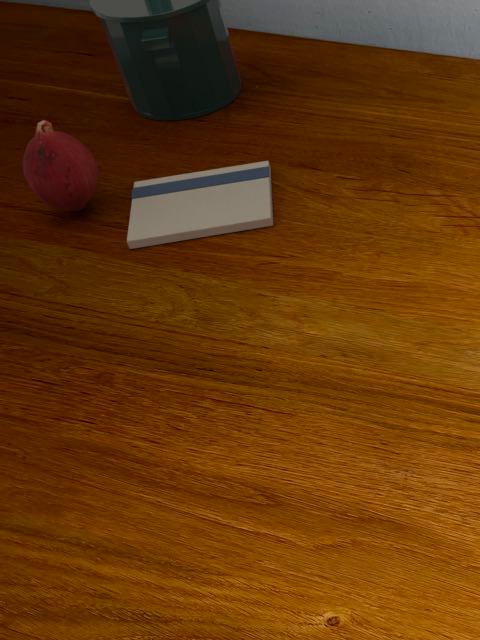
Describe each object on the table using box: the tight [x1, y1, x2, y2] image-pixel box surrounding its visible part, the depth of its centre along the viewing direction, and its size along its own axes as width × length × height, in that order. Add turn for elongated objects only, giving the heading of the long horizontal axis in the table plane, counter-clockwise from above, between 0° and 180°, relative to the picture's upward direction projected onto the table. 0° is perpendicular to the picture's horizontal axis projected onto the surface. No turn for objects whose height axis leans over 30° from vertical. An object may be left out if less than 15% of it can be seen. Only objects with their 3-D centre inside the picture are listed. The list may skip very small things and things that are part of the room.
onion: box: [22, 119, 100, 212], centre depth 90 cm, size 6×6×8 cm
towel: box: [126, 160, 274, 250], centre depth 91 cm, size 12×10×1 cm
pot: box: [99, 0, 243, 122], centre depth 103 cm, size 11×16×10 cm
